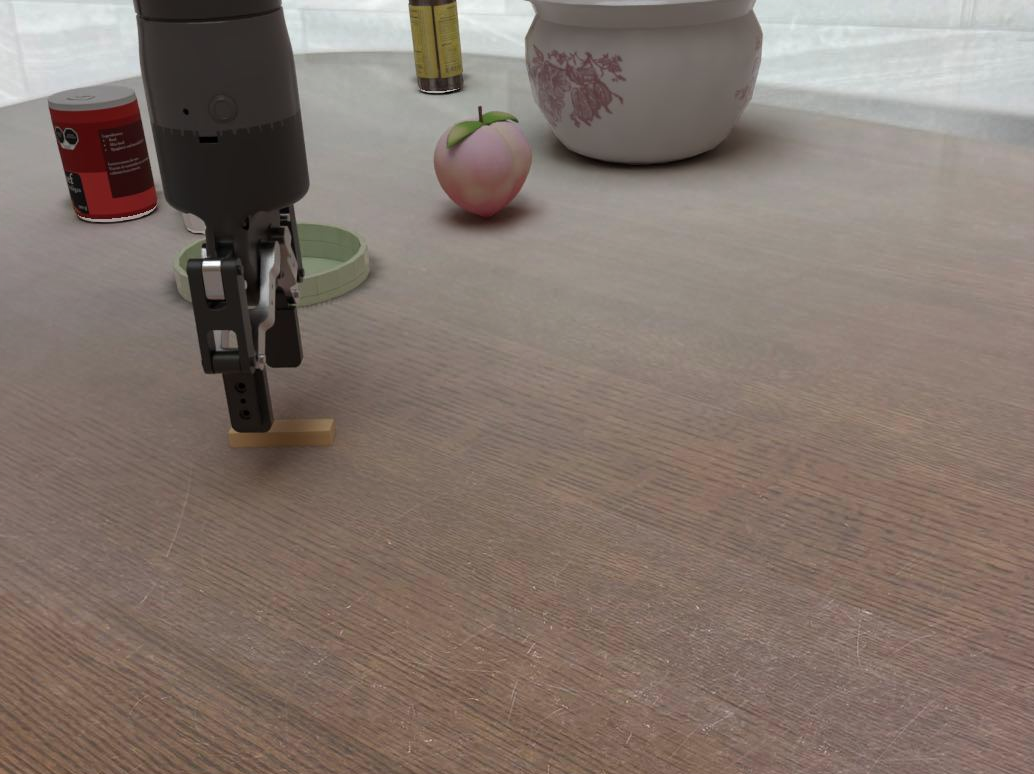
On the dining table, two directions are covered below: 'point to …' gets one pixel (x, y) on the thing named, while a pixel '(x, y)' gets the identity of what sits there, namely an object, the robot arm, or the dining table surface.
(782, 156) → the dining table surface
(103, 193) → the canned food
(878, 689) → the dining table surface
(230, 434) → the block
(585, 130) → the chamber pot
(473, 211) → the decorative fruit
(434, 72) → the sauce bottle
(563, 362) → the dining table surface
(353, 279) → the bowl
